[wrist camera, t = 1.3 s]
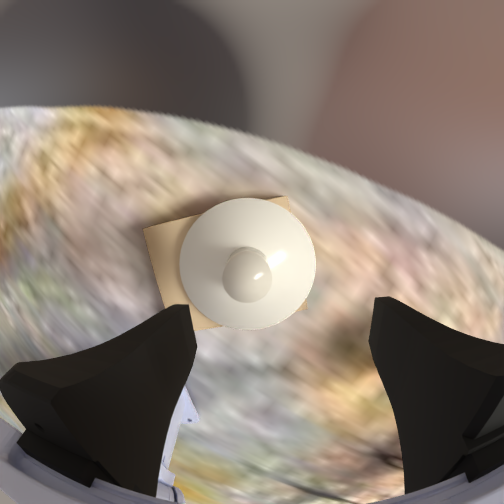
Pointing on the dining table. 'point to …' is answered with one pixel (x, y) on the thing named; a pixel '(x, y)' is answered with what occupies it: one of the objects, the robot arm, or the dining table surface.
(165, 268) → the trivet
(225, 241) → the lid
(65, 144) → the dining table surface
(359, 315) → the dining table surface
